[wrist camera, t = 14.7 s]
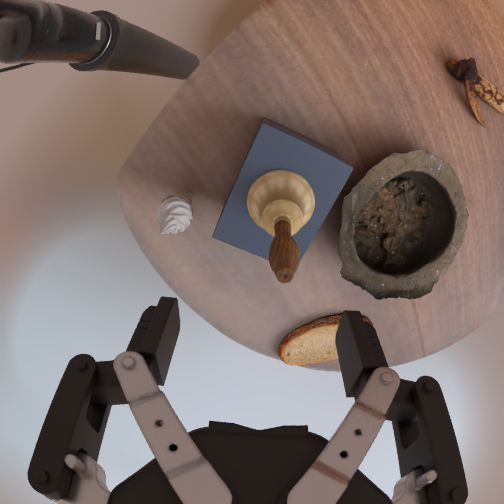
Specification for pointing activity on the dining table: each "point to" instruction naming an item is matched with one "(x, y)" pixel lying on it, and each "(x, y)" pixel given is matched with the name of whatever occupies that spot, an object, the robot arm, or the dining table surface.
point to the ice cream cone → (175, 213)
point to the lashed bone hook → (476, 87)
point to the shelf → (281, 158)
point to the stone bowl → (402, 225)
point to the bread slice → (312, 342)
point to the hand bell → (281, 216)
